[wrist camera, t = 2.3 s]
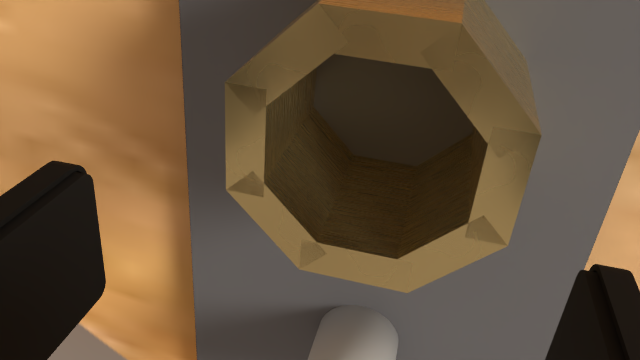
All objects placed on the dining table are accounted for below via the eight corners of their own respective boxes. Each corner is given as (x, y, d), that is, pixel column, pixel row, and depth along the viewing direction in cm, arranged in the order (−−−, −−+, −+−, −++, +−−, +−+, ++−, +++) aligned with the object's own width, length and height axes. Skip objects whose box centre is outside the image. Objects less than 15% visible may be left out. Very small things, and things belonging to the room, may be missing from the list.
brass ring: (290, -47, 16) (223, -10, 12) (546, -15, 15) (571, 38, 11) (280, 167, 20) (226, 253, 16) (487, 206, 19) (488, 310, 15)
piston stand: (191, -102, 17) (36, -75, 11) (691, -47, 15) (832, 25, 9) (208, 359, 28) (131, 503, 22) (507, 435, 25) (514, 619, 19)
